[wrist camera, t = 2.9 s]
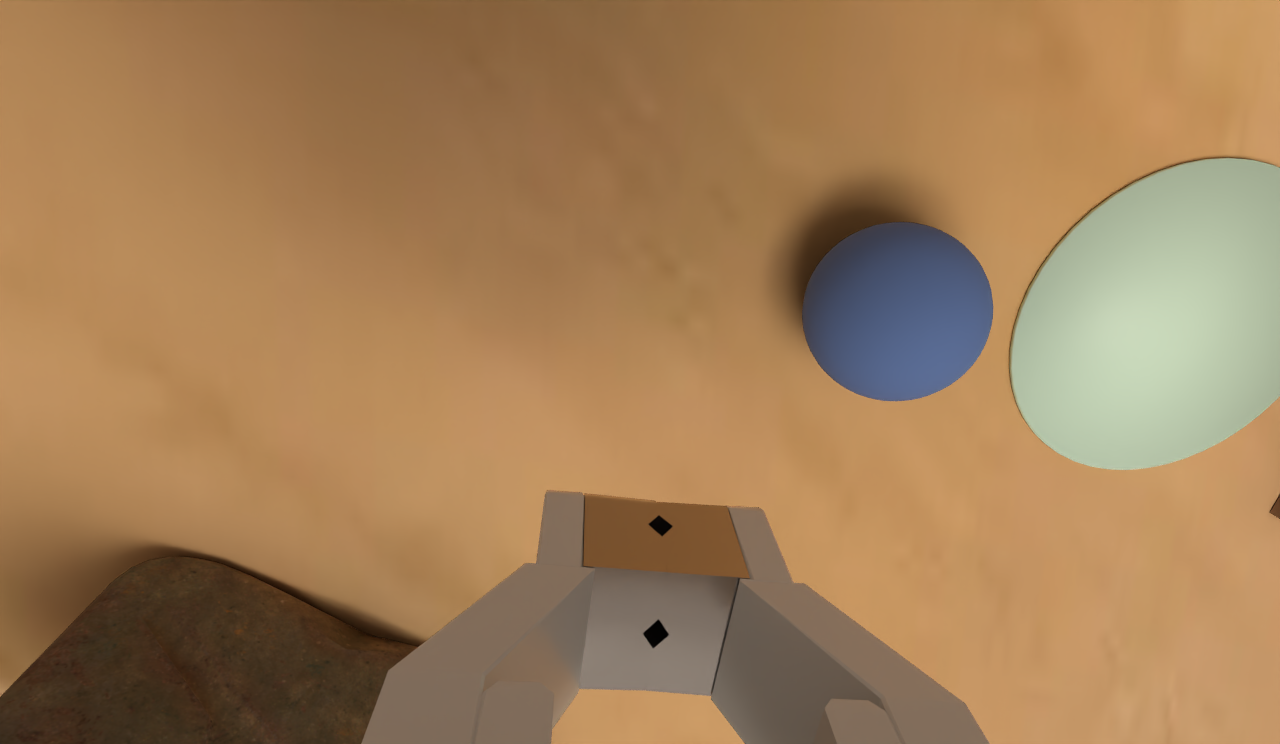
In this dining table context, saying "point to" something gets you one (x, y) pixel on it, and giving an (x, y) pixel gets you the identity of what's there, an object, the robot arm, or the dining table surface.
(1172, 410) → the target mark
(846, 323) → the ball
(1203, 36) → the dining table surface
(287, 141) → the dining table surface
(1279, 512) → the brown bar
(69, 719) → the canister
